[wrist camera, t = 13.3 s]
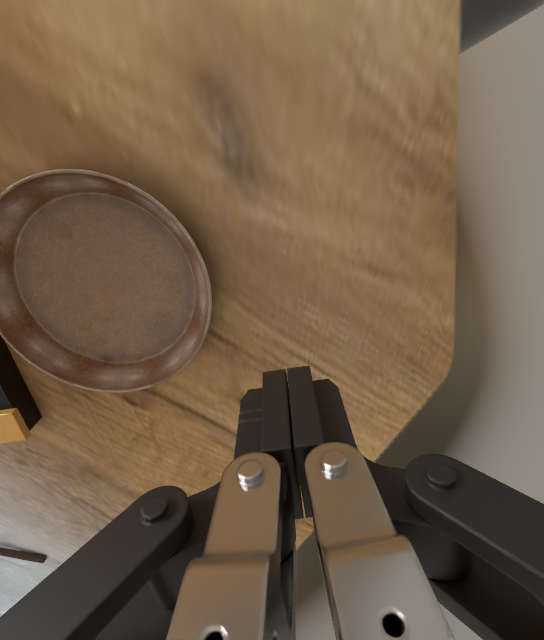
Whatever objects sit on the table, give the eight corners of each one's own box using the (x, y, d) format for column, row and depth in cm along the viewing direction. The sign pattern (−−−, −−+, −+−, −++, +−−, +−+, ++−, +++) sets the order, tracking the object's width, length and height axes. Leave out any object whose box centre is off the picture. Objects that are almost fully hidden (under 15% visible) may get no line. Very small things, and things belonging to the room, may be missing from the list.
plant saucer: (139, 408, 35) (128, 429, 32) (-39, 292, 30) (-71, 305, 27) (260, 275, 30) (259, 287, 27) (68, 111, 25) (43, 104, 22)
